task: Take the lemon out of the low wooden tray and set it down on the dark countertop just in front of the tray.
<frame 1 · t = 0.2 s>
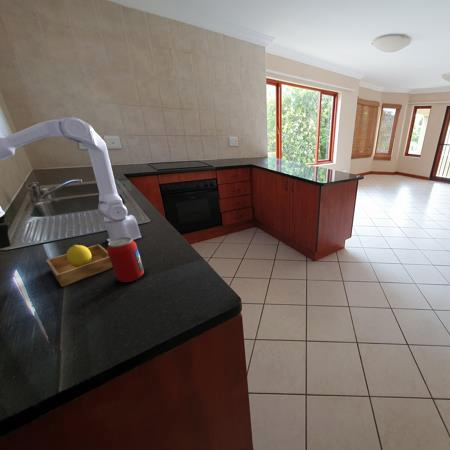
hand: (3, 243, 68), 10 cm above the counter, tool pointing down, fingers open, 7 cm apart
wooden tray: (84, 268, 75), on the counter
lemon: (84, 267, 75), resting on wooden tray
beverage can: (131, 277, 71), on the counter
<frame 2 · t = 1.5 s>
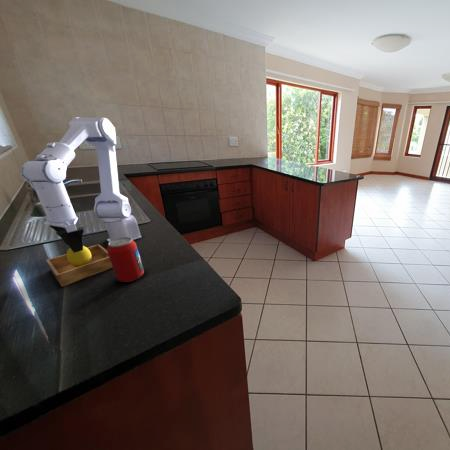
hand: (74, 247, 72), 8 cm above the counter, tool pointing down, fingers open, 7 cm apart
nothing on the counter moved.
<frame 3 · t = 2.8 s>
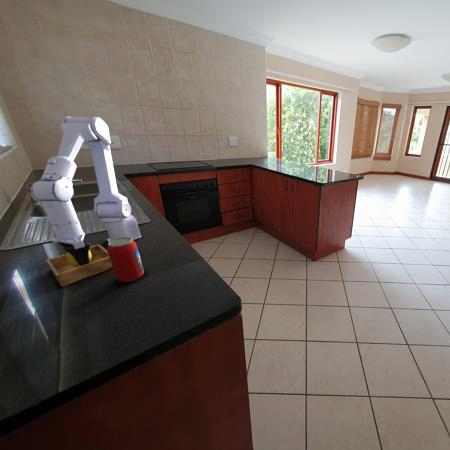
hand: (81, 261, 74), 2 cm above the counter, tool pointing down, fingers closed on lemon, 5 cm apart
lemon: (84, 267, 75), resting on wooden tray, touching gripper
everything else where it was.
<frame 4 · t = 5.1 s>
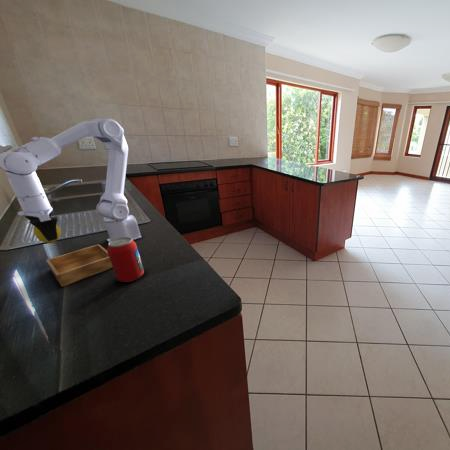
hand: (50, 237, 74), 9 cm above the counter, tool pointing down, fingers closed on lemon, 5 cm apart
lemon: (53, 243, 74), point 7 cm above the counter, touching gripper
everything else where it was.
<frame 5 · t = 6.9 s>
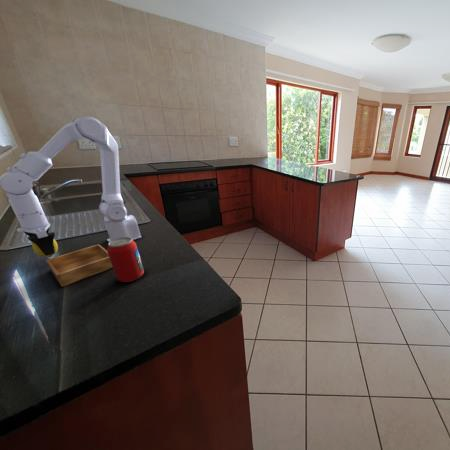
hand: (47, 251, 77), 4 cm above the counter, tool pointing down, fingers closed on lemon, 5 cm apart
lemon: (50, 257, 78), point 1 cm above the counter, touching gripper
everything else where it was.
when the fingers open (2 cm above the counter, at t = 7.9 s): lemon stays where it is, on the counter.
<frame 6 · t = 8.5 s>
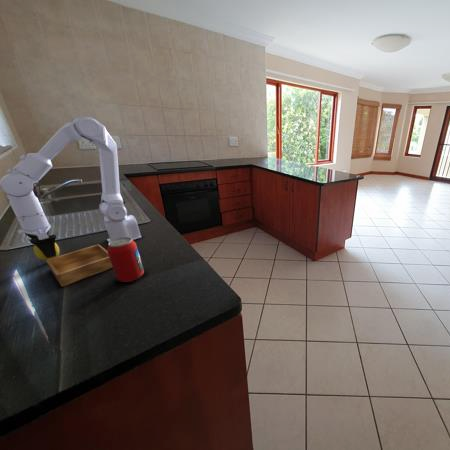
hand: (48, 252, 77), 3 cm above the counter, tool pointing down, fingers open, 7 cm apart
lemon: (52, 261, 79), on the counter
everything else where it was.
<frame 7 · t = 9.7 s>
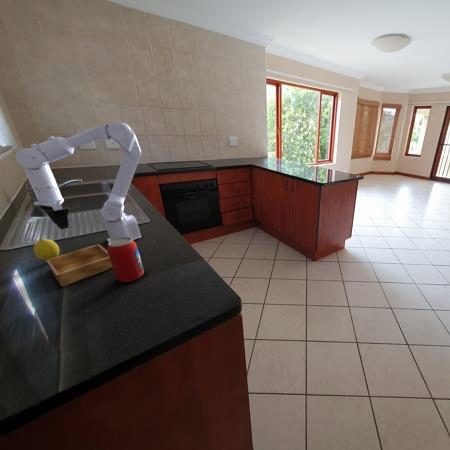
hand: (61, 225, 82), 9 cm above the counter, tool pointing down, fingers open, 7 cm apart
nothing on the counter moved.
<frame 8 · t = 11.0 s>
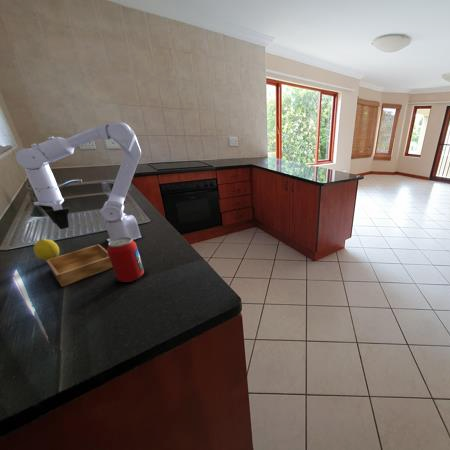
hand: (61, 225, 82), 9 cm above the counter, tool pointing down, fingers open, 7 cm apart
nothing on the counter moved.
at the end: lemon inside the target area (0.1 cm from its centre), on the counter; the gripper is holding nothing; lemon moved 14.9 cm from its start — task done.
